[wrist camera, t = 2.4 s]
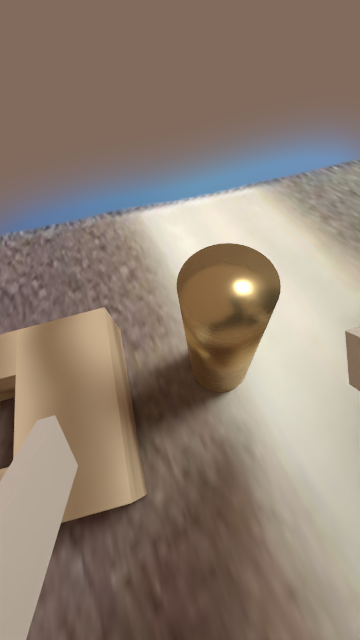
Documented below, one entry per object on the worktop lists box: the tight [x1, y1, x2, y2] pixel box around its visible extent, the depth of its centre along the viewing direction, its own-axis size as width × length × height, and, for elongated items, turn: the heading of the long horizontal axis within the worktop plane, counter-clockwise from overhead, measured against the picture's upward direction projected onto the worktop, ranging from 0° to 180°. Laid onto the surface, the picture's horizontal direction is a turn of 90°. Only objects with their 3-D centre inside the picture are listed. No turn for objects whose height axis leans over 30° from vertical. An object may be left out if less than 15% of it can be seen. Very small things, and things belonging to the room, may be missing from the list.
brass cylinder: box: [177, 244, 280, 392], centre depth 16 cm, size 4×4×11 cm
